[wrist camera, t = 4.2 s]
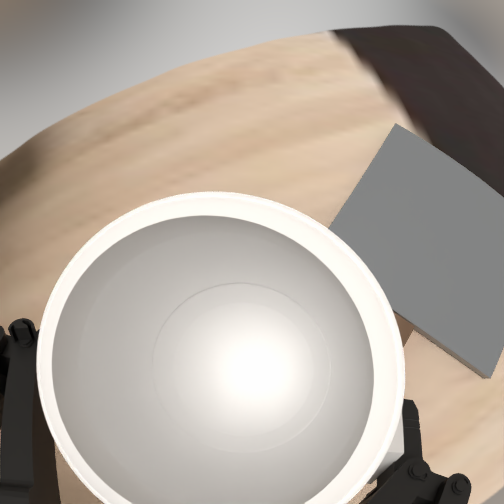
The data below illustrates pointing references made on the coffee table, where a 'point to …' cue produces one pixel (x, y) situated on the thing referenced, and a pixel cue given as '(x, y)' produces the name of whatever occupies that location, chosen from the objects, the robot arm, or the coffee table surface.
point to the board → (432, 246)
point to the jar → (220, 358)
